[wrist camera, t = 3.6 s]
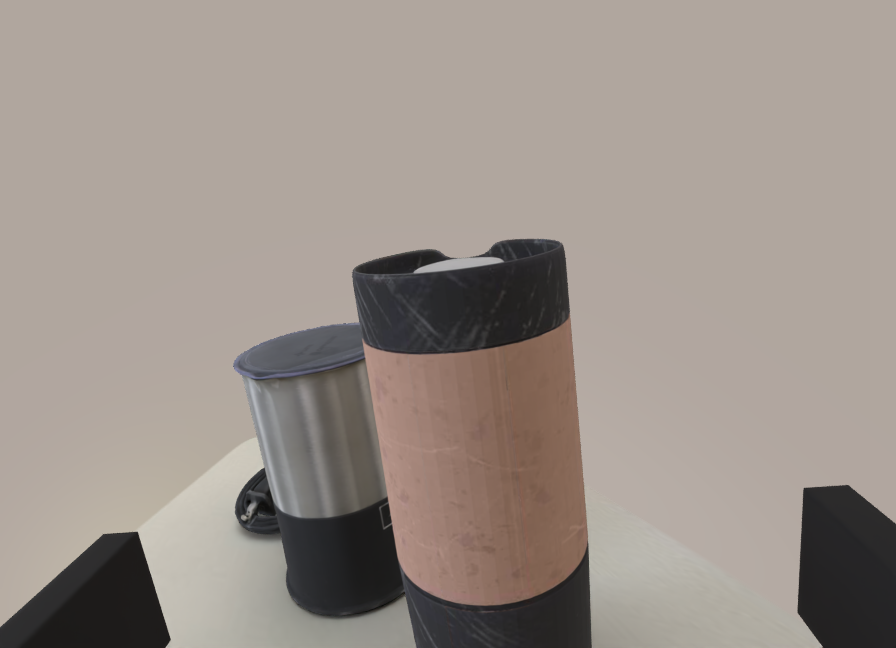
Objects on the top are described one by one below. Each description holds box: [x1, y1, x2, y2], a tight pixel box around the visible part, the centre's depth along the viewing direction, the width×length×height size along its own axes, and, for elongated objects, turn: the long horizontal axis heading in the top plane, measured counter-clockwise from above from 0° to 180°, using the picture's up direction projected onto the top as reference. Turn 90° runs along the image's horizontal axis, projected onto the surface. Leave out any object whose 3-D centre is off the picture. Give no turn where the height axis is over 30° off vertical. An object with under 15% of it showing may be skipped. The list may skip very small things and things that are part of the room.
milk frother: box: [233, 323, 405, 616], centre depth 34 cm, size 14×16×15 cm
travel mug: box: [352, 239, 592, 648], centre depth 21 cm, size 8×8×20 cm
